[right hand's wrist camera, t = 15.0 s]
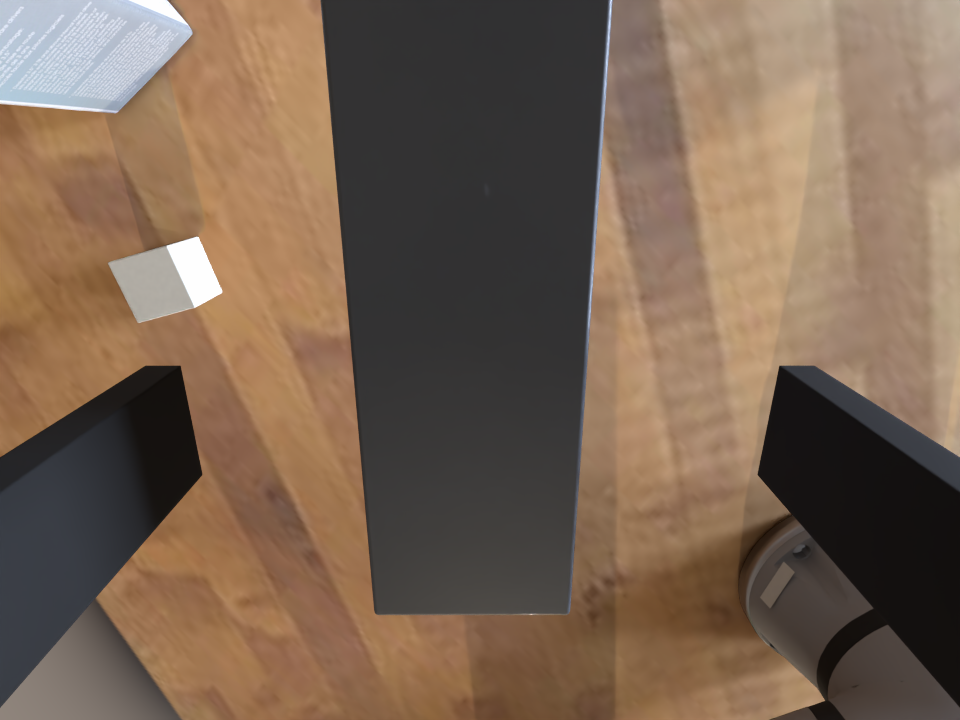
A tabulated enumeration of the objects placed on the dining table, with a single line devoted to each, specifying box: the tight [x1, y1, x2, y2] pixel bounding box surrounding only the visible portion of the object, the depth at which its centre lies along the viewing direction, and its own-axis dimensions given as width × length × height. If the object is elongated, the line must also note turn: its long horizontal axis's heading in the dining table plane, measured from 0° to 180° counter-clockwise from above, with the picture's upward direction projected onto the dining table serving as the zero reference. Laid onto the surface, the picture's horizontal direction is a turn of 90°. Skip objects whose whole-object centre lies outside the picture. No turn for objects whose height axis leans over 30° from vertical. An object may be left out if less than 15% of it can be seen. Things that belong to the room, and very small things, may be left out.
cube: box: [108, 237, 222, 323], centre depth 36 cm, size 4×4×4 cm
